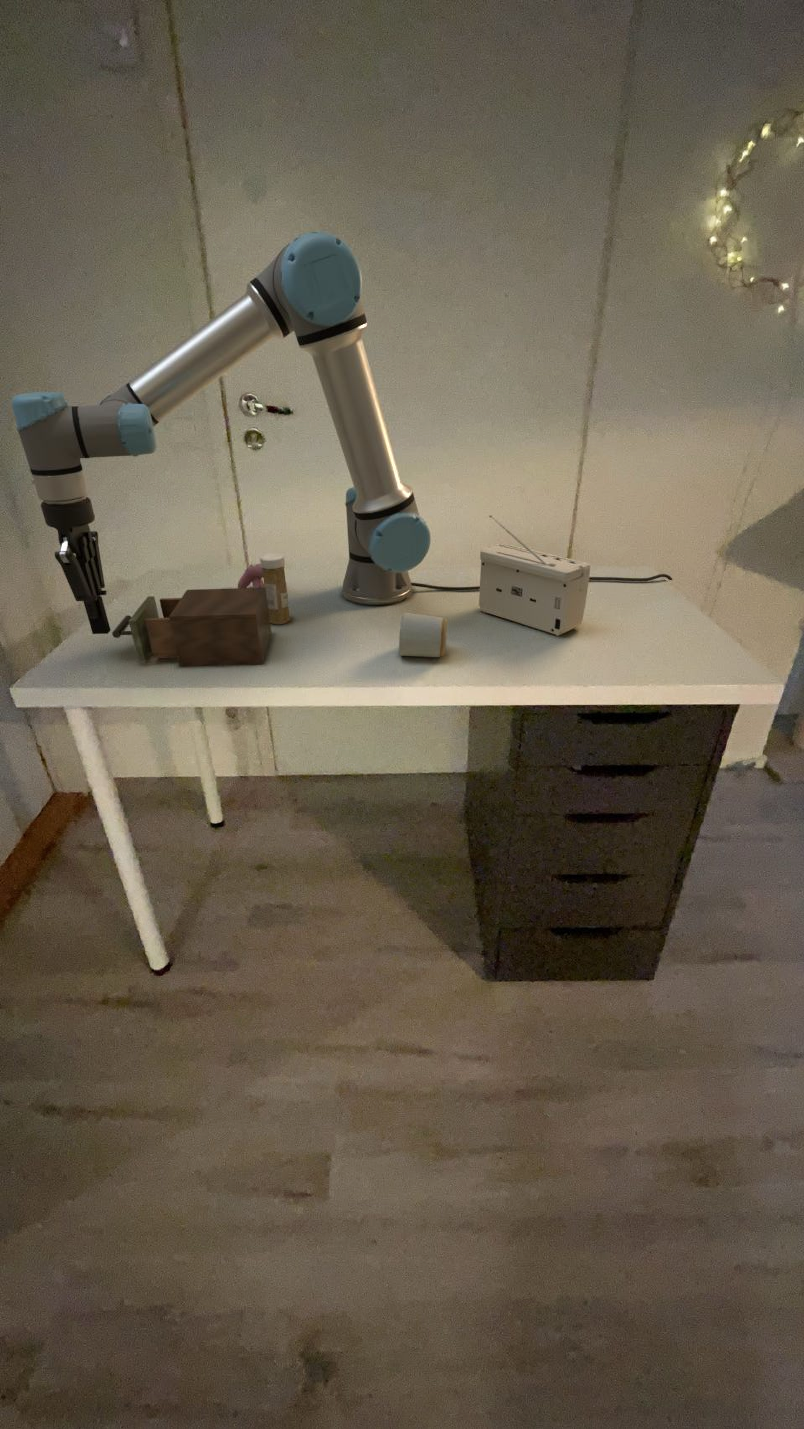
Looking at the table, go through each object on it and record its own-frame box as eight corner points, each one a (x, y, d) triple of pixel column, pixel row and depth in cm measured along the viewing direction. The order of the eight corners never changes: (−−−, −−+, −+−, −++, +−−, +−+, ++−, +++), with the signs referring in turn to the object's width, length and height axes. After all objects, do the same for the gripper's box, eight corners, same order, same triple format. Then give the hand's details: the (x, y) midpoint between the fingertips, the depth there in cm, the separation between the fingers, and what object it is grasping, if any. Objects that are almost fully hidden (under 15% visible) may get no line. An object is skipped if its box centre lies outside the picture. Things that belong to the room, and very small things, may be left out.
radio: (583, 627, 128) (598, 525, 117) (561, 640, 123) (575, 534, 112) (496, 601, 140) (503, 506, 130) (473, 612, 135) (478, 514, 124)
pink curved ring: (281, 600, 146) (287, 569, 145) (267, 597, 142) (274, 565, 141) (248, 592, 150) (254, 562, 149) (234, 589, 146) (240, 558, 145)
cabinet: (179, 666, 116) (169, 616, 110) (195, 636, 126) (186, 589, 121) (262, 664, 116) (255, 613, 111) (271, 634, 127) (265, 587, 122)
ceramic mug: (444, 664, 115) (445, 624, 111) (398, 662, 116) (398, 622, 112) (447, 640, 124) (449, 601, 120) (405, 638, 125) (404, 600, 121)
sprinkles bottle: (294, 621, 132) (287, 556, 125) (273, 627, 130) (265, 561, 123) (284, 614, 135) (277, 550, 128) (264, 619, 133) (255, 555, 126)
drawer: (114, 662, 115) (102, 621, 111) (133, 635, 125) (124, 597, 121) (215, 659, 116) (208, 618, 112) (227, 632, 125) (221, 594, 121)
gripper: (57, 490, 111) (93, 618, 124) (23, 509, 100) (66, 648, 113) (102, 489, 112) (133, 617, 124) (72, 508, 100) (110, 647, 113)
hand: (101, 632), depth 118 cm, fingers closed
